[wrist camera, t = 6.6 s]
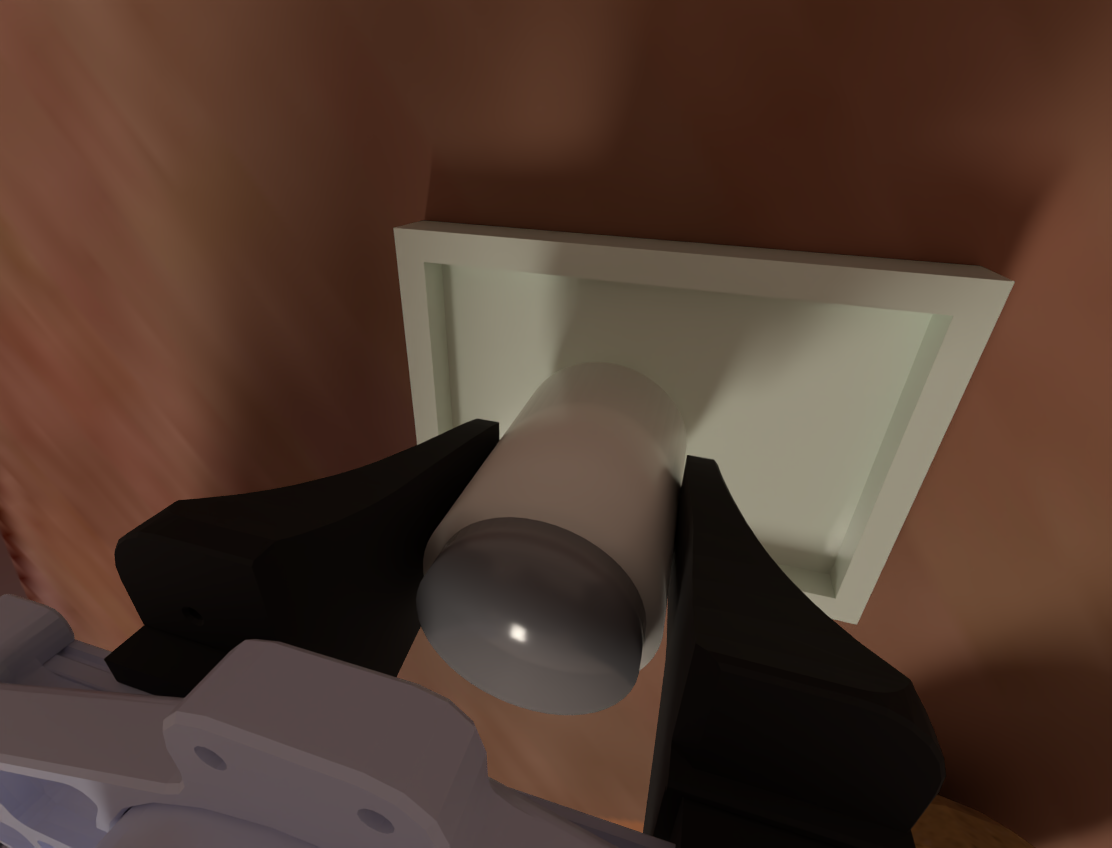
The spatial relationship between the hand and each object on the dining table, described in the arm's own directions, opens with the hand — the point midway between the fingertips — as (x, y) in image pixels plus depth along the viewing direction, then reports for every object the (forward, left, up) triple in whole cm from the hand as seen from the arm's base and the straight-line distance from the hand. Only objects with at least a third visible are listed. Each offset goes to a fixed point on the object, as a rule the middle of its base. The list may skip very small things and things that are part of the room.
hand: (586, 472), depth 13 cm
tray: (+1, 0, -4) cm, 4 cm away
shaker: (0, 0, -2) cm, 2 cm away
